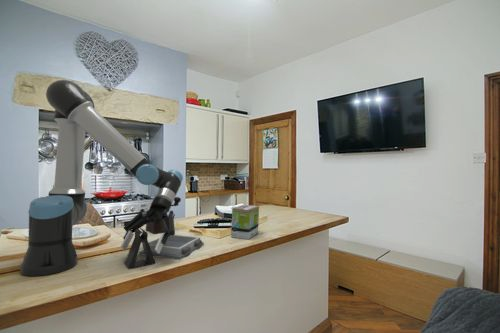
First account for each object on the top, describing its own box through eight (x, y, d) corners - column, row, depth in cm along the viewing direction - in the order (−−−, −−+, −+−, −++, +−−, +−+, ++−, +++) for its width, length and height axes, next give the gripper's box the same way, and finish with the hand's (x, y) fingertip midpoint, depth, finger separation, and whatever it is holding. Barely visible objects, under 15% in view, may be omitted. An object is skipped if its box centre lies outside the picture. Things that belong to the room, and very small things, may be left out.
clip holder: (139, 254, 100) (139, 245, 100) (168, 240, 120) (168, 233, 120) (181, 259, 95) (181, 250, 95) (205, 244, 115) (205, 236, 115)
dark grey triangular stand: (128, 269, 86) (129, 233, 86) (124, 263, 90) (125, 229, 91) (155, 263, 91) (156, 230, 91) (151, 258, 96) (151, 226, 96)
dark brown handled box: (155, 234, 130) (155, 199, 130) (145, 230, 138) (145, 197, 138) (181, 229, 142) (182, 197, 142) (171, 226, 149) (171, 195, 149)
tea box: (249, 240, 124) (250, 209, 124) (230, 237, 127) (231, 207, 127) (258, 232, 138) (259, 205, 138) (241, 230, 141) (241, 204, 141)
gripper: (193, 208, 105) (175, 258, 90) (139, 205, 110) (113, 252, 95) (188, 197, 100) (168, 247, 85) (131, 194, 104) (103, 242, 89)
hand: (139, 250), depth 90 cm, fingers open, 12 cm apart
